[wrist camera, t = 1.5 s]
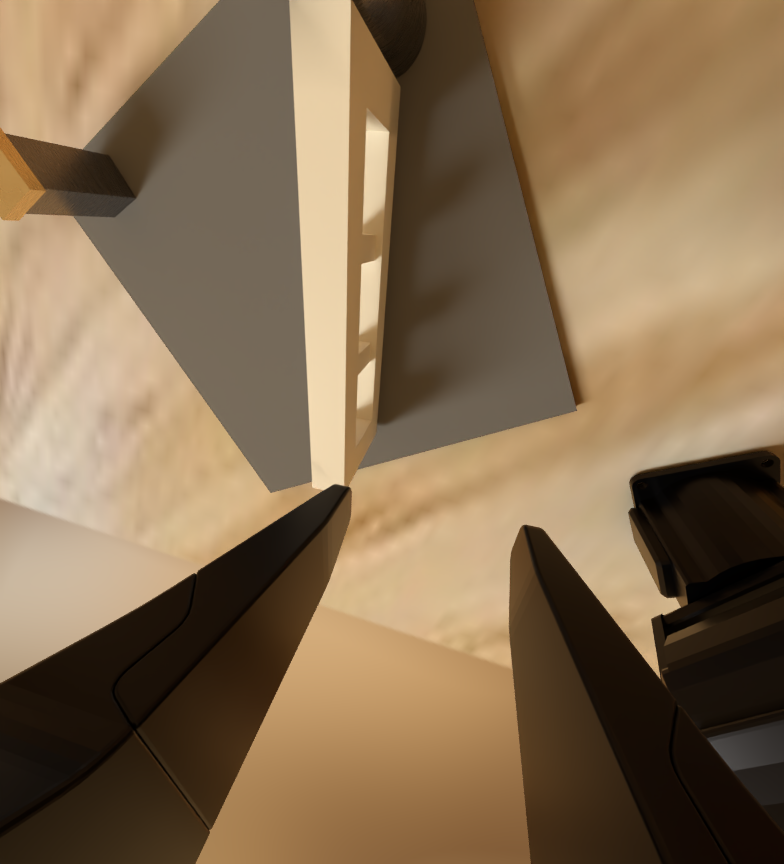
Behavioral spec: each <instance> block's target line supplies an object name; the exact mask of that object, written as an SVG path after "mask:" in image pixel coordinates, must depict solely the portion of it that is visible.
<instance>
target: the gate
mask: <svg viewBox="0 0 784 864" xmlns="http://www.w3.org/2000/svg"><path fill="white" fill-rule="evenodd" d="M289 7H290V28H291V49H292V70H293V91H294V112H295V133H296V154H297V175H298V196H299V217H300V238H301V259H302V280H303V301H304V322H305V343H306V364H307V385H308V406H309V427H310V448H311V469H312V488H317V489H321V490H325V489H327V488H328V487H330V486H331V485H334V484H339V485H343V486H349V484H350V482H351V480H352V478H353V476H354V475H355V473H356V471H357V469H358V467H359V465H360V463H361V461H362V459H363V457H364V456H365V454H366V452H367V450H368V448H369V446H370V444H371V442H372V440H373V439H374V437H375V435H376V433H377V420H378V405H379V391H380V377H381V362H382V348H383V333H384V319H385V305H386V290H387V276H388V262H389V247H390V233H391V219H392V204H393V190H394V175H395V161H396V147H397V132H398V118H399V104H400V89H401V87H400V85H399V83H398V81H397V80H396V78H395V76H394V74H393V72H392V71H391V69H390V67H389V65H388V63H387V62H386V60H385V58H384V56H383V54H382V53H381V51H380V49H379V47H378V45H377V44H376V42H375V40H374V38H373V36H372V35H371V33H370V31H369V29H368V27H367V26H366V24H365V22H364V20H363V19H362V17H361V15H360V13H359V11H358V10H357V8H356V6H355V4H354V2H353V1H352V0H289Z"/></svg>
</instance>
